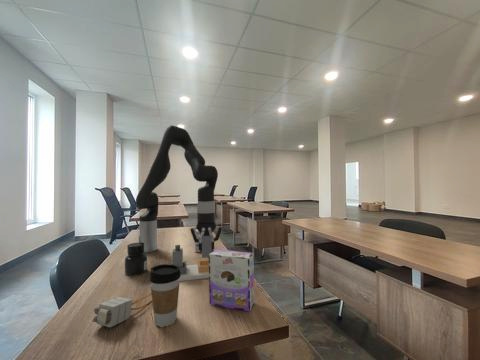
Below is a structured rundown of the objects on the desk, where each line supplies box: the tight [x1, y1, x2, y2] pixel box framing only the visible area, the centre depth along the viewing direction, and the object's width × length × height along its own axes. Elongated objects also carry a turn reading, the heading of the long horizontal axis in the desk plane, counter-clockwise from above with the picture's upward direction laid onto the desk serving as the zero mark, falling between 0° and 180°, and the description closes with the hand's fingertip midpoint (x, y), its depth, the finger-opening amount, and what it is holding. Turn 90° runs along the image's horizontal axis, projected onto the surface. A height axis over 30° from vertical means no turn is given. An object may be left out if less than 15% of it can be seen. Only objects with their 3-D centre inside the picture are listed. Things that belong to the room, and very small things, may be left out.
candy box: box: [208, 249, 255, 312], centre depth 72 cm, size 14×6×16 cm, turn 71°
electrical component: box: [92, 293, 153, 328], centre depth 71 cm, size 24×6×5 cm, turn 162°
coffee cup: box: [149, 263, 181, 327], centre depth 64 cm, size 8×8×15 cm
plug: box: [201, 234, 213, 259], centre depth 97 cm, size 4×4×11 cm
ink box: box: [193, 229, 201, 253], centre depth 127 cm, size 8×5×12 cm, turn 106°
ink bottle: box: [124, 241, 148, 277], centre depth 98 cm, size 10×9×12 cm
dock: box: [169, 244, 209, 282], centre depth 96 cm, size 23×12×12 cm, turn 103°
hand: (206, 250), depth 97 cm, fingers closed on plug, 4 cm apart
